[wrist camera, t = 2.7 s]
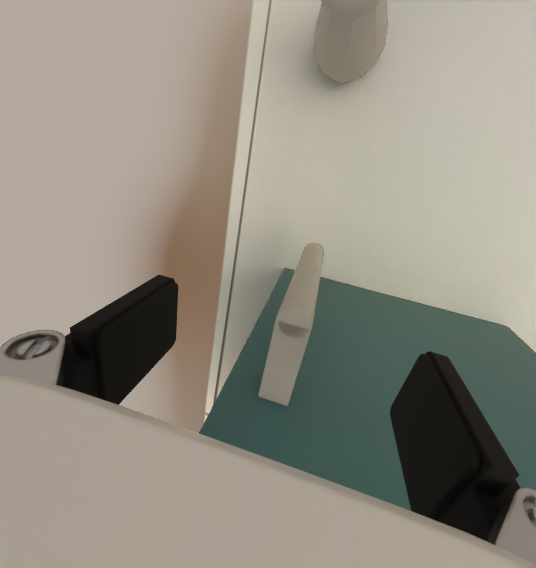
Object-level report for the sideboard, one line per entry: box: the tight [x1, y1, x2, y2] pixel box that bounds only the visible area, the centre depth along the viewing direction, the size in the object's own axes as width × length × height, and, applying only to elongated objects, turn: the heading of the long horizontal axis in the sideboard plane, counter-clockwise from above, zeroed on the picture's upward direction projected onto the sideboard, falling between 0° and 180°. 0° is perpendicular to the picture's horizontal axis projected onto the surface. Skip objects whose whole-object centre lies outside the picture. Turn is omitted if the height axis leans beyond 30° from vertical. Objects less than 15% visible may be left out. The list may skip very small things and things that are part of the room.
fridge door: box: [199, 243, 536, 511], centre depth 20 cm, size 8×26×24 cm, turn 79°
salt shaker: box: [314, 0, 388, 83], centre depth 18 cm, size 6×6×13 cm
